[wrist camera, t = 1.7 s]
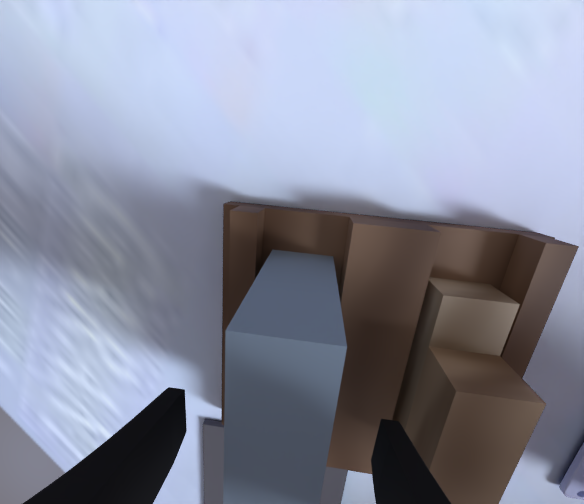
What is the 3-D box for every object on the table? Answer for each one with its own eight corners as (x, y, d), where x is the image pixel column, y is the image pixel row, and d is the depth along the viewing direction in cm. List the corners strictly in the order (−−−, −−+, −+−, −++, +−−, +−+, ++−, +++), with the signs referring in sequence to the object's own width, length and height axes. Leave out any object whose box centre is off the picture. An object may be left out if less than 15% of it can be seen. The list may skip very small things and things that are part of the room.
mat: (351, 442, 18) (352, 448, 17) (331, 536, 21) (332, 543, 20) (205, 419, 18) (202, 424, 18) (206, 513, 22) (204, 520, 21)
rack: (537, 232, 13) (586, 247, 10) (457, 446, 17) (479, 491, 15) (230, 201, 14) (211, 208, 11) (226, 410, 18) (212, 447, 16)
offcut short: (500, 355, 12) (546, 403, 9) (461, 455, 13) (491, 517, 11) (428, 346, 12) (456, 391, 9) (400, 446, 14) (417, 504, 11)
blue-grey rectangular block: (333, 256, 13) (346, 346, 6) (310, 413, 16) (305, 585, 10) (272, 249, 13) (225, 330, 7) (261, 406, 16) (222, 568, 10)
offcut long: (490, 284, 13) (520, 304, 11) (441, 426, 16) (458, 462, 14) (425, 276, 13) (443, 295, 11) (388, 418, 16) (398, 453, 14)
